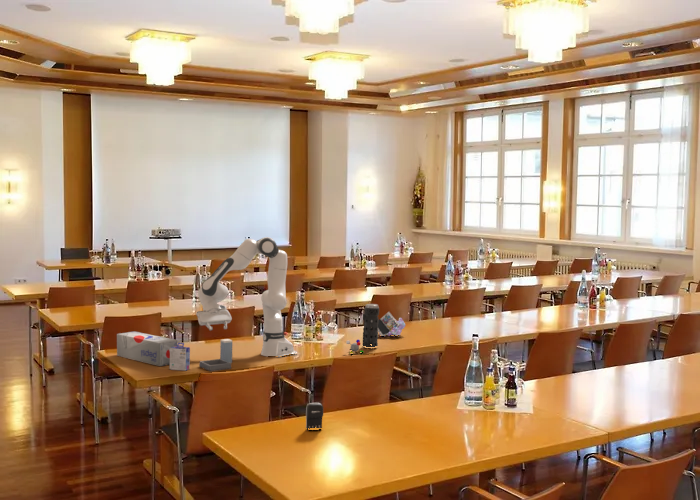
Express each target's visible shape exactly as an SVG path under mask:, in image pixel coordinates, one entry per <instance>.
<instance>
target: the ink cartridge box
mask: <svg viewBox="0 0 700 500" xmlns="http://www.w3.org/2000/svg"><path fill="white" fill-rule="evenodd" d="M190 356H191V348H190V346H189V347H187V346H185V342H177V347H171V348H170V364H169V370H172V371H182V372H183V371H188V370H190V369H191V368H190V367H191V366H190V365H191V364H190V361H191V359H190V358H191V357H190Z"/></svg>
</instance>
